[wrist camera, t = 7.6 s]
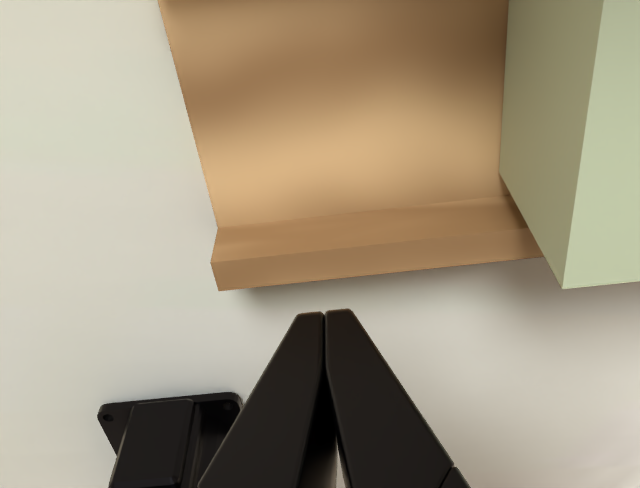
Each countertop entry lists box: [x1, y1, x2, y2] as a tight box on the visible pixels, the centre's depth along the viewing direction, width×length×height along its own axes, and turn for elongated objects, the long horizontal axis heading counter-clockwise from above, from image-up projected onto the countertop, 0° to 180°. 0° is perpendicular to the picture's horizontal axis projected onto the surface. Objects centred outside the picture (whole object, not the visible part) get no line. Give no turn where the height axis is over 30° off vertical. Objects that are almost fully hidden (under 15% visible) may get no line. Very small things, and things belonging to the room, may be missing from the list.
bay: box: [158, 0, 544, 291], centre depth 17 cm, size 11×18×3 cm, turn 97°
